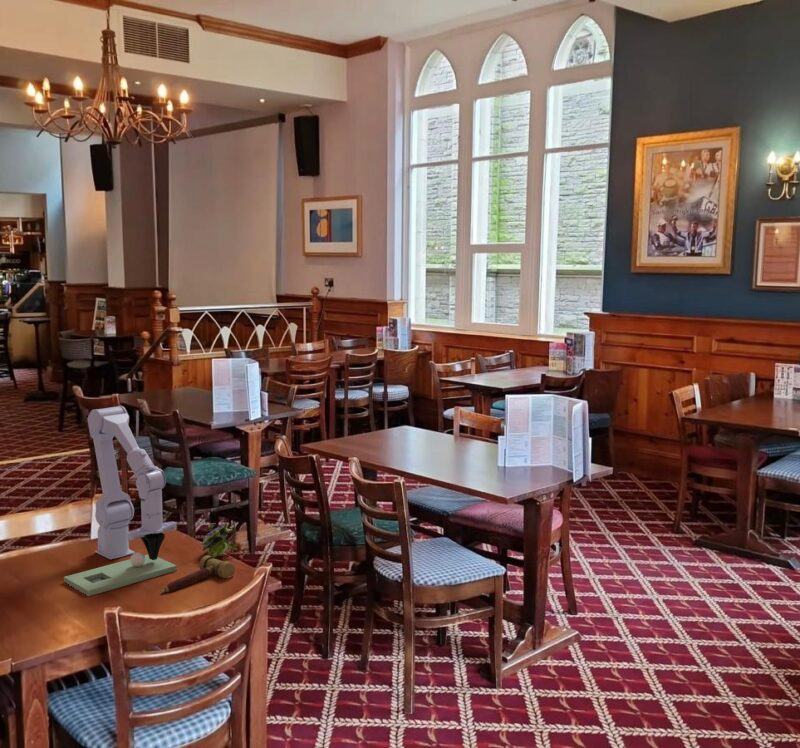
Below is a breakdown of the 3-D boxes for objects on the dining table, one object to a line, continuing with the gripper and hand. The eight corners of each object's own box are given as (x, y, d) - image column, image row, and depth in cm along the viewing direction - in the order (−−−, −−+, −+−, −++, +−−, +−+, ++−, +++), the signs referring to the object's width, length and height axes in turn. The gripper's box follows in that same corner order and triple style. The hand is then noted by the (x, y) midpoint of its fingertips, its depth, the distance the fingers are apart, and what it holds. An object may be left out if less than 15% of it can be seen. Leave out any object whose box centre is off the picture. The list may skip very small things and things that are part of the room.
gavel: (172, 588, 212) (149, 579, 218) (174, 604, 213) (150, 595, 219) (234, 560, 229) (211, 553, 235) (235, 576, 229) (212, 568, 235)
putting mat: (64, 582, 223) (63, 576, 223) (150, 558, 242) (150, 553, 242) (88, 596, 214) (88, 590, 213) (176, 570, 232) (176, 565, 232)
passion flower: (211, 568, 249) (215, 530, 255) (244, 565, 247) (247, 526, 252) (192, 558, 240) (197, 519, 246) (226, 554, 237) (230, 515, 243)
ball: (127, 566, 231) (127, 552, 231) (140, 563, 234) (140, 549, 234) (134, 570, 228) (134, 556, 228) (148, 566, 231) (147, 552, 231)
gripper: (135, 520, 225) (137, 568, 227) (182, 510, 235) (183, 555, 237) (122, 515, 230) (124, 562, 231) (168, 505, 240) (169, 550, 242)
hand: (153, 558), depth 235 cm, fingers closed
